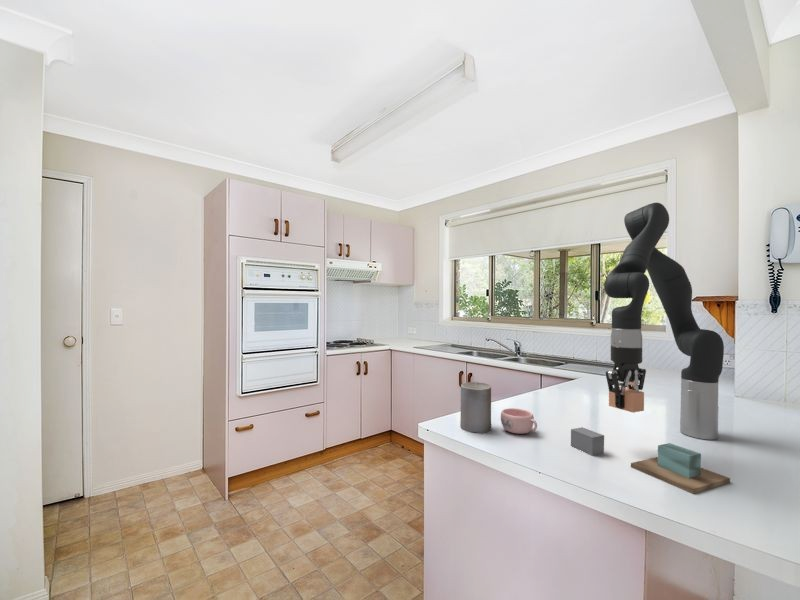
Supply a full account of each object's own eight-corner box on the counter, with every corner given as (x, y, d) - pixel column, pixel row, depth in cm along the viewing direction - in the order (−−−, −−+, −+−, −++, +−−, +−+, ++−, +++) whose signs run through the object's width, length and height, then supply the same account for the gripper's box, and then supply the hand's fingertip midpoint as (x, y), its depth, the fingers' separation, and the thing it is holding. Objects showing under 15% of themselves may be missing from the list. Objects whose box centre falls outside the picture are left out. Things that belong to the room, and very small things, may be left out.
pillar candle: (475, 421, 128) (475, 377, 128) (497, 429, 120) (497, 382, 120) (453, 426, 122) (454, 380, 122) (475, 435, 114) (475, 386, 114)
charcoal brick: (582, 444, 109) (582, 427, 109) (603, 453, 102) (604, 435, 103) (570, 446, 107) (571, 429, 107) (592, 456, 101) (592, 437, 101)
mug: (493, 429, 120) (494, 411, 120) (512, 423, 126) (512, 406, 126) (527, 441, 110) (527, 421, 110) (545, 434, 116) (546, 415, 116)
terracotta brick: (619, 404, 108) (619, 386, 108) (644, 410, 102) (644, 392, 102) (608, 405, 106) (608, 388, 106) (633, 412, 100) (633, 393, 100)
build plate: (666, 458, 100) (666, 435, 100) (729, 482, 87) (730, 456, 87) (630, 466, 94) (631, 442, 94) (693, 493, 81) (693, 466, 81)
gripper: (630, 342, 111) (629, 400, 111) (596, 344, 105) (596, 406, 105) (656, 345, 104) (656, 407, 104) (621, 347, 98) (621, 413, 98)
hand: (626, 406), depth 104 cm, fingers closed on terracotta brick, 4 cm apart
